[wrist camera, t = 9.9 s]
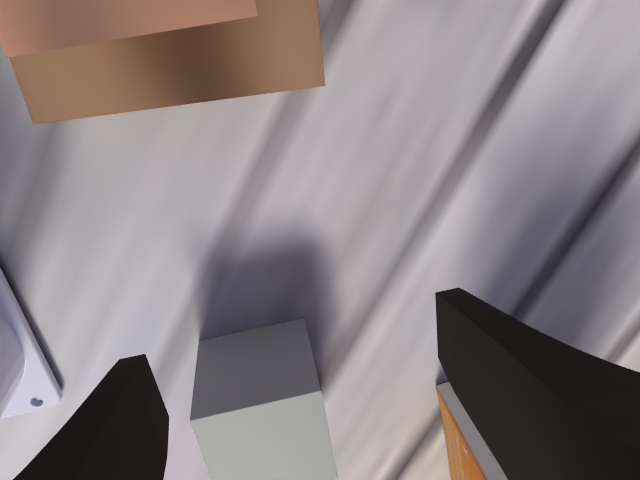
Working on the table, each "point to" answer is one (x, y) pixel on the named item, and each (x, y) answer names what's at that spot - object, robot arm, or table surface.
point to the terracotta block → (104, 20)
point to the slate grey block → (261, 406)
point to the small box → (465, 441)
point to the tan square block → (177, 65)
